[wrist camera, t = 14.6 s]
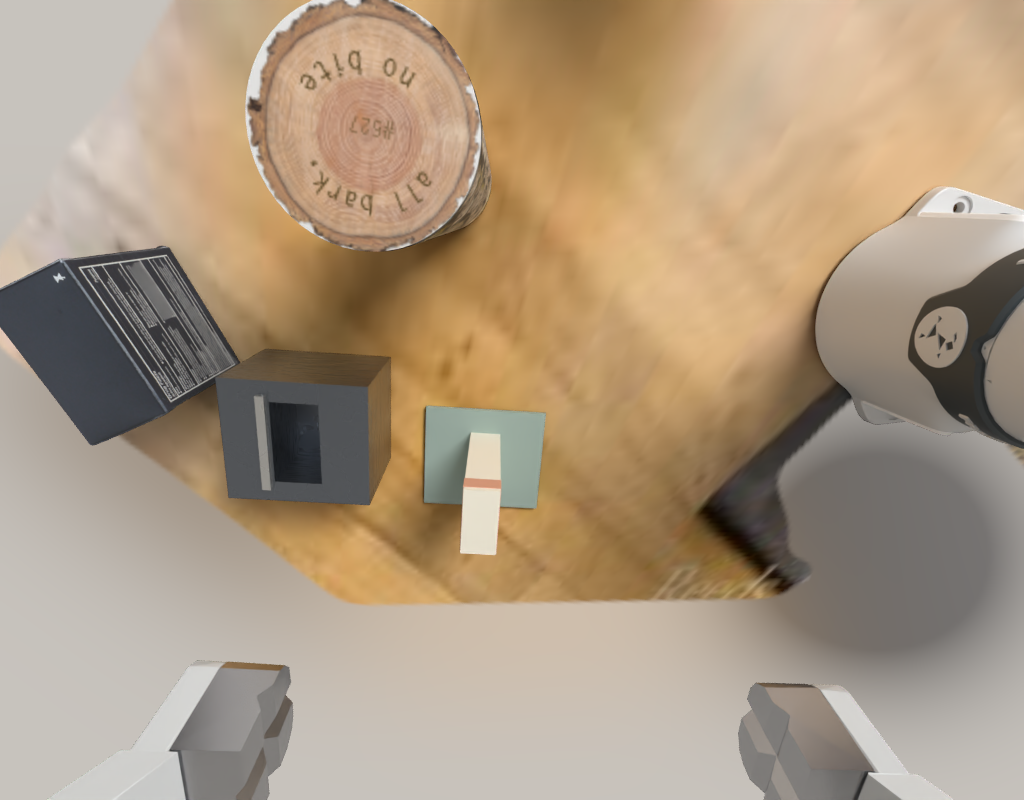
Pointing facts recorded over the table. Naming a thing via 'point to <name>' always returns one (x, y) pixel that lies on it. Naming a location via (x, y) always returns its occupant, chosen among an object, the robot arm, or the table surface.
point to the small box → (115, 337)
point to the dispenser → (306, 426)
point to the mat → (451, 449)
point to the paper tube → (367, 125)
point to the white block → (481, 495)
